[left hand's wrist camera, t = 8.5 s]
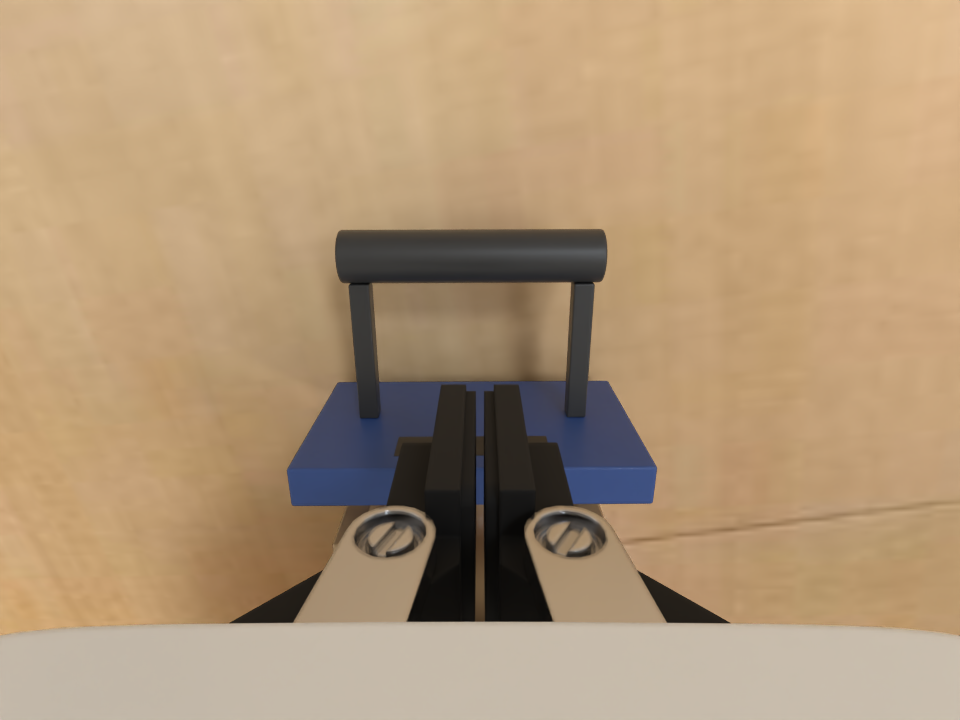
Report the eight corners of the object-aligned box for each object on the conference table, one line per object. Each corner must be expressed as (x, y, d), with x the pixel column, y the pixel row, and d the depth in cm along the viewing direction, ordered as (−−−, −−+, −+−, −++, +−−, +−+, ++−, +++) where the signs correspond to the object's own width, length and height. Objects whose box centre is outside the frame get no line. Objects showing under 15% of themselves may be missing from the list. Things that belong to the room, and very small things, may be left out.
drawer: (321, 219, 19) (254, 250, 13) (621, 218, 19) (685, 248, 13) (372, 736, 27) (345, 892, 22) (578, 734, 28) (605, 889, 22)
